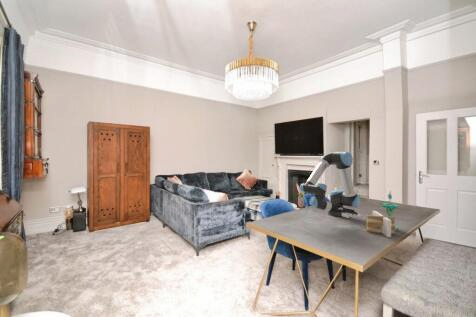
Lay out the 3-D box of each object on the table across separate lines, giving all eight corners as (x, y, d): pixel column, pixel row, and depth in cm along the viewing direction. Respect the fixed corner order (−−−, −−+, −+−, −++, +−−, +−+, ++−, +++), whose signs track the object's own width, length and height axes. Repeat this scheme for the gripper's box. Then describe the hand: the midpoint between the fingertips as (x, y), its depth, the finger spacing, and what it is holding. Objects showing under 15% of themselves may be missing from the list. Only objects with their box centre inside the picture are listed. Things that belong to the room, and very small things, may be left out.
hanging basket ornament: (380, 225, 177) (381, 189, 177) (396, 227, 173) (397, 190, 172) (382, 229, 168) (383, 191, 167) (399, 231, 163) (400, 192, 162)
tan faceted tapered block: (366, 230, 164) (366, 215, 164) (392, 232, 161) (392, 216, 161) (367, 231, 162) (367, 216, 162) (394, 233, 159) (394, 217, 158)
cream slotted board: (371, 224, 178) (372, 210, 178) (374, 225, 177) (375, 210, 177) (387, 236, 152) (387, 220, 152) (390, 237, 152) (391, 220, 152)
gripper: (320, 213, 177) (343, 221, 178) (338, 210, 154) (365, 219, 155) (321, 204, 180) (345, 212, 181) (339, 200, 157) (366, 209, 158)
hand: (354, 215), depth 168 cm, fingers open, 13 cm apart
